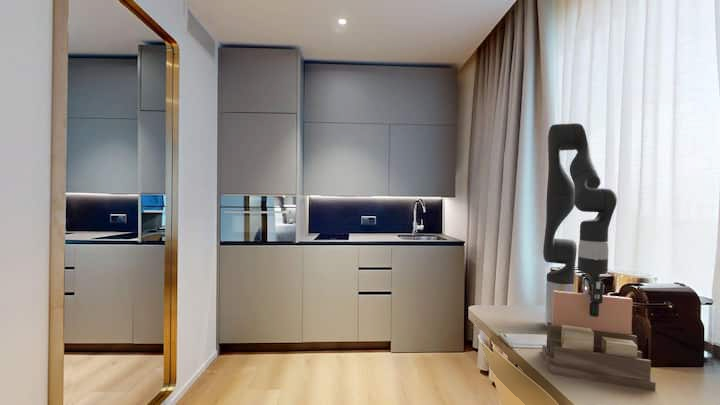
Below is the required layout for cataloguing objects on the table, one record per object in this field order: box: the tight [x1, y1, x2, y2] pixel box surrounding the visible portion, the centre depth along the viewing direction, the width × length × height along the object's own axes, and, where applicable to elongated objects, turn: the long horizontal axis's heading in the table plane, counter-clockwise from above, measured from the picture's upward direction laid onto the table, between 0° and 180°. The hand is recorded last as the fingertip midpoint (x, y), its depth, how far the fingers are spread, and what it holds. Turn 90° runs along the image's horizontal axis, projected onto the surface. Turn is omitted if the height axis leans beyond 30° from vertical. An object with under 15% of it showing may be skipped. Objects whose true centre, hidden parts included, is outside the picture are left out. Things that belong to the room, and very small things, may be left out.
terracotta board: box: [552, 290, 634, 335], centre depth 111 cm, size 2×20×18 cm, turn 71°
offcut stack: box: [561, 325, 638, 358], centre depth 103 cm, size 4×17×10 cm, turn 71°
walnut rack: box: [541, 321, 657, 391], centre depth 107 cm, size 16×24×10 cm, turn 71°
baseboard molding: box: [498, 332, 547, 350], centre depth 125 cm, size 31×3×12 cm
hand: (590, 312), depth 111 cm, fingers open, 6 cm apart
